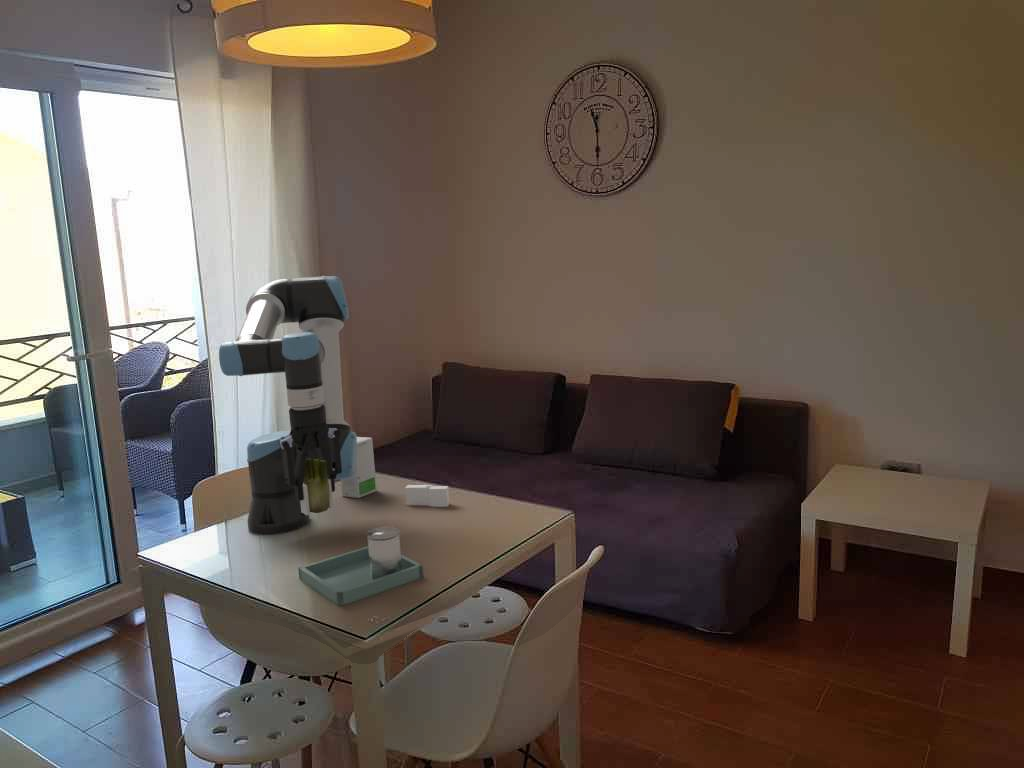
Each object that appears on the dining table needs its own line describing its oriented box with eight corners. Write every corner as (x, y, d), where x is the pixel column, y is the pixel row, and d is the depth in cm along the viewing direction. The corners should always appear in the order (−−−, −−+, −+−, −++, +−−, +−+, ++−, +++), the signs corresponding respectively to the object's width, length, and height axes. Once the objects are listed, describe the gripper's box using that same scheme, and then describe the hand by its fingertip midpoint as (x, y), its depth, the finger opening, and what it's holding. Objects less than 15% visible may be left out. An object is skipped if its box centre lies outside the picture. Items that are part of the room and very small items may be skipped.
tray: (300, 583, 170) (298, 567, 170) (380, 557, 182) (378, 542, 181) (339, 611, 157) (338, 593, 156) (423, 581, 168) (422, 565, 167)
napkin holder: (394, 506, 219) (393, 486, 218) (429, 496, 226) (427, 476, 225) (428, 518, 208) (426, 497, 207) (463, 507, 215) (461, 486, 214)
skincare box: (358, 499, 225) (353, 444, 223) (340, 496, 229) (335, 442, 226) (378, 490, 232) (373, 437, 230) (360, 487, 236) (355, 435, 233)
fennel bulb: (334, 511, 178) (329, 458, 176) (314, 517, 175) (309, 463, 172) (319, 505, 182) (314, 453, 180) (300, 512, 179) (294, 459, 176)
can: (364, 579, 168) (360, 532, 167) (392, 570, 172) (388, 524, 171) (380, 588, 163) (376, 540, 161) (409, 579, 167) (405, 531, 165)
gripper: (273, 416, 165) (285, 525, 170) (352, 401, 176) (362, 503, 181) (259, 410, 171) (271, 516, 176) (336, 396, 182) (346, 496, 187)
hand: (317, 509), depth 178 cm, fingers closed on fennel bulb, 5 cm apart
